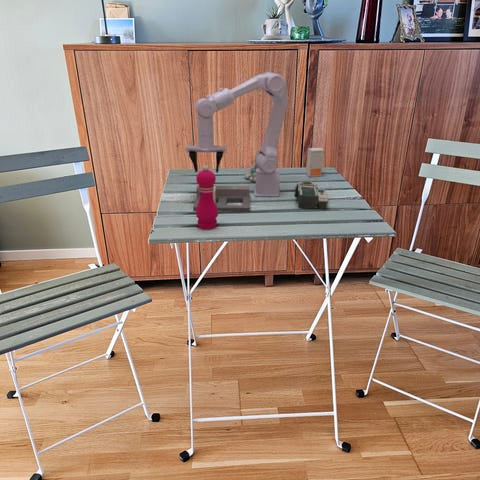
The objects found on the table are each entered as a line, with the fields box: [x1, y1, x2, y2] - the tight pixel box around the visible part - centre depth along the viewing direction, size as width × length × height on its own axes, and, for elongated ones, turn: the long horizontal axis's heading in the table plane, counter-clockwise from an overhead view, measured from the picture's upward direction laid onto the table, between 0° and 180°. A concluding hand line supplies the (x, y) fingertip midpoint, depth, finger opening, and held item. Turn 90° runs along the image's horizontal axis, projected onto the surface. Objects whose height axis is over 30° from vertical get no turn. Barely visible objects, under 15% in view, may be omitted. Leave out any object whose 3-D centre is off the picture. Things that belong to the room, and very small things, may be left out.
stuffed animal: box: [243, 163, 257, 183], centre depth 174 cm, size 11×7×12 cm
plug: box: [213, 185, 217, 205], centre depth 146 cm, size 4×5×7 cm
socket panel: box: [192, 184, 251, 213], centre depth 148 cm, size 20×16×4 cm
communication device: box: [294, 180, 329, 210], centre depth 154 cm, size 12×24×9 cm, turn 175°
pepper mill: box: [195, 164, 219, 230], centre depth 127 cm, size 7×7×20 cm
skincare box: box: [305, 147, 325, 178], centre depth 178 cm, size 6×4×12 cm
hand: (206, 171), depth 149 cm, fingers open, 7 cm apart
